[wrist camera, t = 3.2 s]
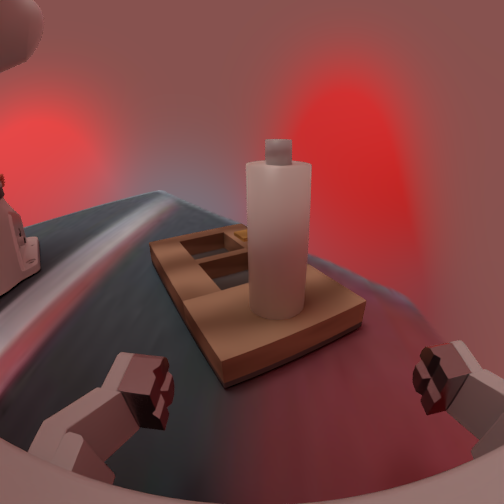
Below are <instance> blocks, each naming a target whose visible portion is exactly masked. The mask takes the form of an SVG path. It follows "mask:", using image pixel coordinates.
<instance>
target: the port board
mask: <svg viewBox="0 0 504 504" xmlns="http://www.w3.org/2000/svg"><path fill="white" fill-rule="evenodd" d="M149 246H150V252H151V258H152V263H153V265H154V267H155V269H156V271H157V273H158V275H159V277H160V278H161V280H162V282H163V284H164V286H165V288H166V290H167V292H168V294H169V295H170V297H171V299H172V301H173V303H174V305H175V306H176V308H177V310H178V312H179V314H180V315H181V317H182V319H183V321H184V322H185V324H186V326H187V328H188V329H189V331H190V333H191V335H192V336H193V338H194V340H195V341H196V343H197V345H198V346H199V348H200V350H201V351H202V353H203V355H204V356H205V358H206V360H207V361H208V363H209V365H210V366H211V368H212V369H213V371H214V373H215V374H216V376H217V377H218V379H219V380H220V382H221V383H222V385H223V387H224V388H227V387H229V386H232V385H235V384H237V383H240V382H242V381H245V380H247V379H250V378H252V377H255V376H257V375H260V374H262V373H265V372H267V371H269V370H272V369H274V368H276V367H279V366H281V365H283V364H285V363H288V362H290V361H292V360H294V359H296V358H299V357H301V356H303V355H305V354H307V353H309V352H311V351H313V350H316V349H318V348H320V347H322V346H324V345H326V344H328V343H330V342H332V341H334V340H336V339H338V338H340V337H342V336H344V335H345V334H347V333H349V332H351V331H353V330H355V329H357V328H359V327H360V326H361V324H362V319H363V315H364V310H365V305H366V300H365V299H363V298H361V297H360V296H358V295H357V294H355V293H354V292H352V291H350V290H349V289H347V288H346V287H344V286H342V285H341V284H339V283H338V282H336V281H334V280H333V279H331V278H330V277H328V276H326V275H325V274H323V273H321V272H320V271H318V270H317V269H315V268H313V267H312V266H310V265H309V264H307V272H306V285H305V298H304V307H303V310H302V311H301V312H300V313H299V314H298V315H296V316H294V317H292V318H288V319H283V320H271V319H266V318H263V317H260V316H258V315H256V314H255V313H254V312H253V311H252V310H251V309H250V306H249V274H248V235H247V227H246V226H245V225H243V224H236V225H231V226H226V227H221V228H216V229H211V230H206V231H201V232H196V233H192V234H187V235H182V236H177V237H173V238H168V239H163V240H159V241H154V242H149Z"/></svg>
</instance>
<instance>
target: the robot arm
mask: <svg viewBox="0 0 504 504" xmlns="http://www.w3.org/2000/svg"><path fill="white" fill-rule="evenodd" d="M43 28H44V18H43V13H42V11H41V9H40V7H39V6H38V4H37V3H36V2H34V1H33V0H0V73H1V72H3V71H5V70H8V69H10V68H12V67H15V66H17V65H19V64H21V63H23V62H26V61H27V60H28V59H29V58H30V57H31V55H32V54H33V52H34V51H35V50H36V48H37V46H38V44H39V42H40V40H41V37H42V34H43ZM3 178H4V177H3V174H0V296H1V295H2V294H4V293H6V292H7V291H9V290H10V289H11V288H13V287H14V286H15V285H16V284H18V283H19V282H20V281H22V280H23V279H25V278H27V277H29V276H31V275H32V274H34V273H36V272H37V271H39V270H40V252H39V241H38V238H37V237H27V238H26V236H25V232H24V228H23V224H22V221H21V217H20V215H19V214H18V213H17V212H16V211H14V210H13V209H12V208H11V207H10V205H9V204H7V202H6V201H5V200H4V198H3V196H4V192H3V189H2V187H4V183H5V182H4V179H3ZM420 357H421V361H420V362H419V363H418V364H417V365H416V366H415V369H414V371H413V385H414V388H415V390H416V392H418V393H419V394H421V395H422V397H421V404H422V406H423V408H424V410H425V413H426V415H431V414H435V413H439V412H443V411H446V410H447V411H446V412H447V413H449V414H450V415H451V416H452V417H453V418H454V419H456V420H457V421H458V422H459V423H460V424H462V425H463V426H464V427H465V428H466V429H467V430H469V431H470V432H471V433H472V434H473V435H474V436H476V437H477V438H478V439H479V441H478V443H477V444H476V445H475V446H474V447H473V448H472V450H471V453H472V455H473V458H474V460H471V461H469V462H467V463H465V464H462V465H460V466H458V467H455V468H453V469H450V470H447V471H445V472H442V473H439V474H437V475H434V476H431V477H428V478H425V479H422V480H419V481H416V482H413V483H409V484H406V485H402V486H399V487H395V488H391V489H387V490H383V491H379V492H374V493H370V494H365V495H360V496H354V497H348V498H342V499H336V500H328V501H320V502H311V503H299V504H504V379H503V378H501V377H499V376H497V375H495V374H493V373H492V372H490V371H488V370H486V369H485V370H483V369H482V368H481V366H480V365H479V363H478V362H477V361H476V359H475V357H474V356H473V355H472V353H471V352H470V350H469V349H468V348H467V346H466V345H465V343H464V342H462V341H460V340H458V341H454V342H449V343H444V344H438V345H433V346H427V347H425V348H424V349H423V350H422V352H421V354H420ZM168 369H169V363H168V360H167V358H165V357H160V356H151V355H142V354H132V353H125V352H121V353H119V354H118V355H117V357H116V359H115V361H114V363H113V365H112V367H111V369H110V371H109V373H108V375H107V377H106V379H105V381H104V383H103V385H102V387H101V388H95V389H94V390H92V391H91V392H89V393H88V394H86V395H84V396H83V397H81V398H80V399H78V400H77V401H75V402H73V403H72V404H70V405H69V406H67V407H65V408H64V409H62V410H61V411H59V412H57V413H56V414H54V415H53V416H51V417H49V418H48V419H46V420H45V421H43V423H42V425H41V427H40V429H39V431H38V432H37V434H36V436H35V438H34V440H33V442H32V444H31V446H30V448H29V450H28V452H26V451H24V450H22V449H20V448H18V447H16V446H14V445H12V444H11V443H9V442H7V441H5V440H3V439H2V438H0V504H219V503H207V502H197V501H189V500H182V499H175V498H169V497H163V496H158V495H153V494H148V493H143V492H139V491H134V490H130V489H126V488H122V487H119V486H115V485H113V482H114V478H115V475H114V473H113V472H112V471H111V469H110V468H109V467H108V466H107V465H106V464H105V463H104V461H105V460H107V459H108V458H109V457H110V456H111V455H112V454H113V453H114V452H115V451H116V450H117V449H118V448H120V447H121V446H122V445H123V444H124V443H125V442H126V441H127V440H128V439H129V438H130V437H131V436H132V435H133V434H134V433H136V432H137V431H138V430H139V429H140V428H139V427H142V428H149V429H157V430H165V428H166V424H167V420H168V417H169V412H168V409H167V407H168V406H169V405H170V404H172V401H173V397H174V380H173V377H172V375H171V374H170V373H169V372H168Z"/></svg>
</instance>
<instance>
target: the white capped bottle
mask: <svg viewBox="0 0 504 504" xmlns="http://www.w3.org/2000/svg"><path fill="white" fill-rule="evenodd" d="M265 157H266V158H265V160H264V161H254V162H249V163H247V164H246V195H247V235H248V274H249V306H250V309H251V310H252V311H253V312H254V313H255V314H256V315H258V316H260V317H263V318H266V319H271V320H283V319H288V318H292V317H294V316H296V315H298V314H299V313H300V312H301V311H302V310H303V307H304V298H305V285H306V272H307V257H308V240H309V221H310V199H311V166H312V165H311V164H309V163H305V162H299V161H292V140H287V139H267V140H265Z"/></svg>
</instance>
